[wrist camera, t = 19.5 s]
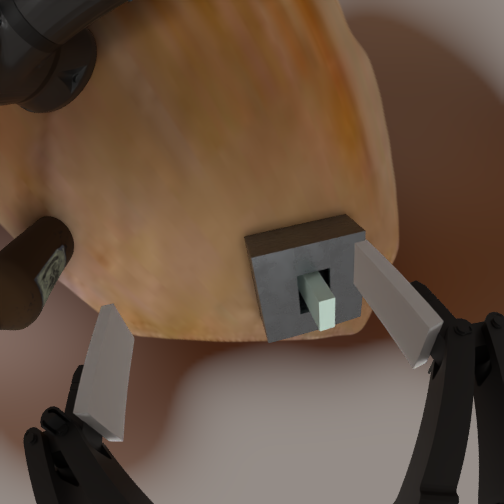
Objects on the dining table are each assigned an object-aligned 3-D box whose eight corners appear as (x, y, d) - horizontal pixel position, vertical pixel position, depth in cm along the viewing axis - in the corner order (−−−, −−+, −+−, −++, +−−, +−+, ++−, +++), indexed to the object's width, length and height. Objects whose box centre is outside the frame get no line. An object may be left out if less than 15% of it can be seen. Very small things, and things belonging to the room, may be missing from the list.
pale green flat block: (297, 287, 52) (319, 331, 42) (294, 259, 49) (318, 302, 39) (310, 283, 52) (334, 326, 42) (308, 256, 49) (335, 297, 39)
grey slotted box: (261, 317, 55) (268, 343, 49) (244, 236, 47) (251, 257, 40) (345, 294, 56) (360, 316, 50) (345, 214, 48) (365, 230, 42)
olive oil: (27, 255, 41) (-41, 347, 19) (33, 204, 37) (-58, 287, 15) (72, 275, 44) (18, 383, 23) (82, 225, 41) (8, 328, 19)
